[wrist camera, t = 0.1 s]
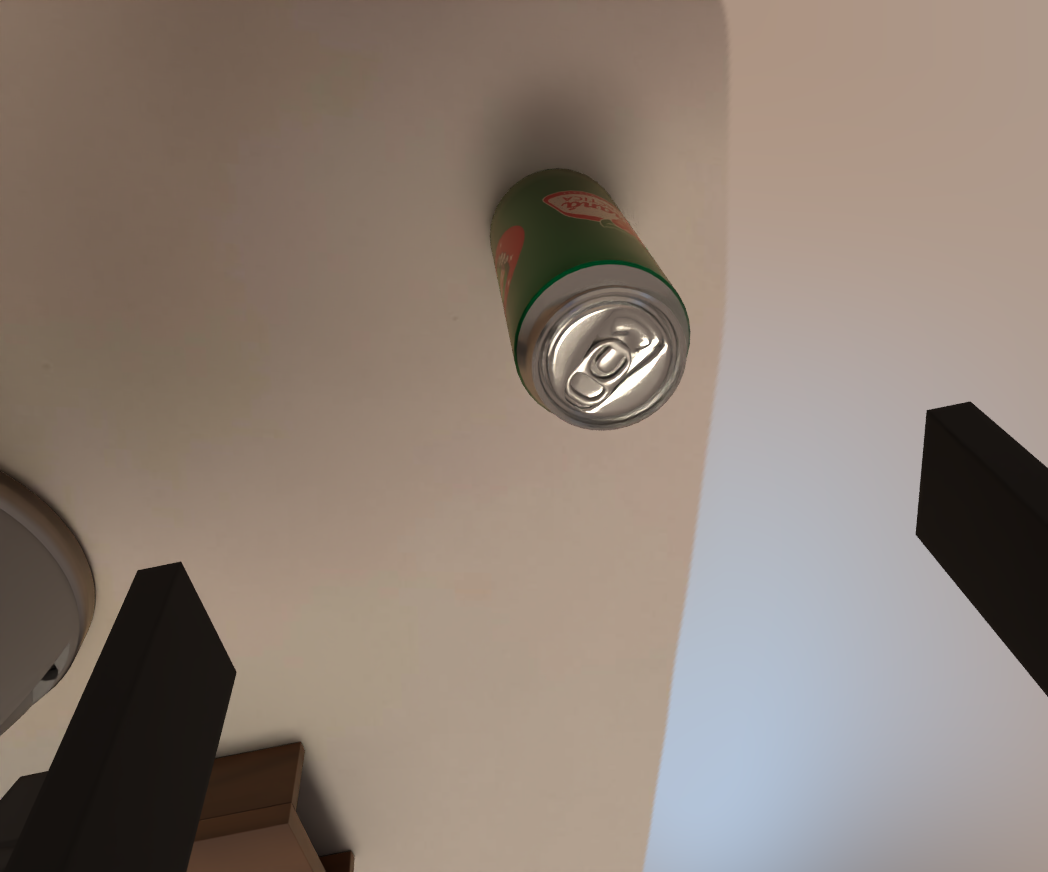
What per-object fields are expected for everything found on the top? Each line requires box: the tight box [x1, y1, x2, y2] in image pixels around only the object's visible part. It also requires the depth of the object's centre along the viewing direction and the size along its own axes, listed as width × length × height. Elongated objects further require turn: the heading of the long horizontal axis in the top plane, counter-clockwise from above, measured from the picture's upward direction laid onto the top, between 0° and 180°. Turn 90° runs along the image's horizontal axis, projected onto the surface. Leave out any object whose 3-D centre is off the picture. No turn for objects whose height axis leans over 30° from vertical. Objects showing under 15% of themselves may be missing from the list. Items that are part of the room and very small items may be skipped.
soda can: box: [490, 169, 690, 430], centre depth 28 cm, size 5×5×12 cm
